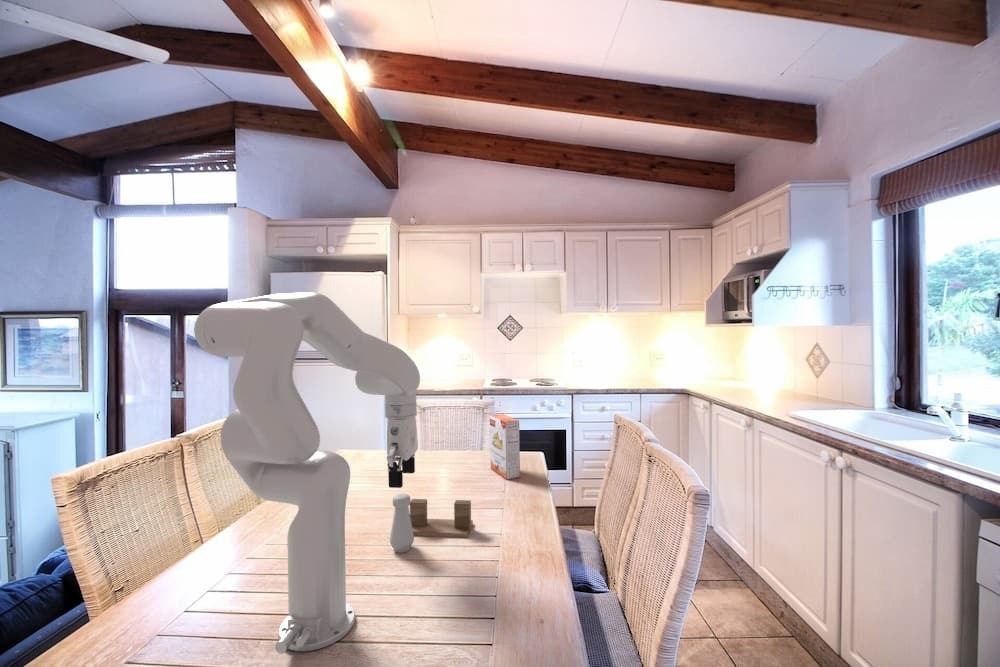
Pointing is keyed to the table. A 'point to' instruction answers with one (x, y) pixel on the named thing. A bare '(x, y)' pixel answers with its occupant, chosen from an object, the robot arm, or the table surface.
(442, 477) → the table surface
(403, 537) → the salt shaker
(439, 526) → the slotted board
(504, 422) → the cracker box
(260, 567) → the table surface
